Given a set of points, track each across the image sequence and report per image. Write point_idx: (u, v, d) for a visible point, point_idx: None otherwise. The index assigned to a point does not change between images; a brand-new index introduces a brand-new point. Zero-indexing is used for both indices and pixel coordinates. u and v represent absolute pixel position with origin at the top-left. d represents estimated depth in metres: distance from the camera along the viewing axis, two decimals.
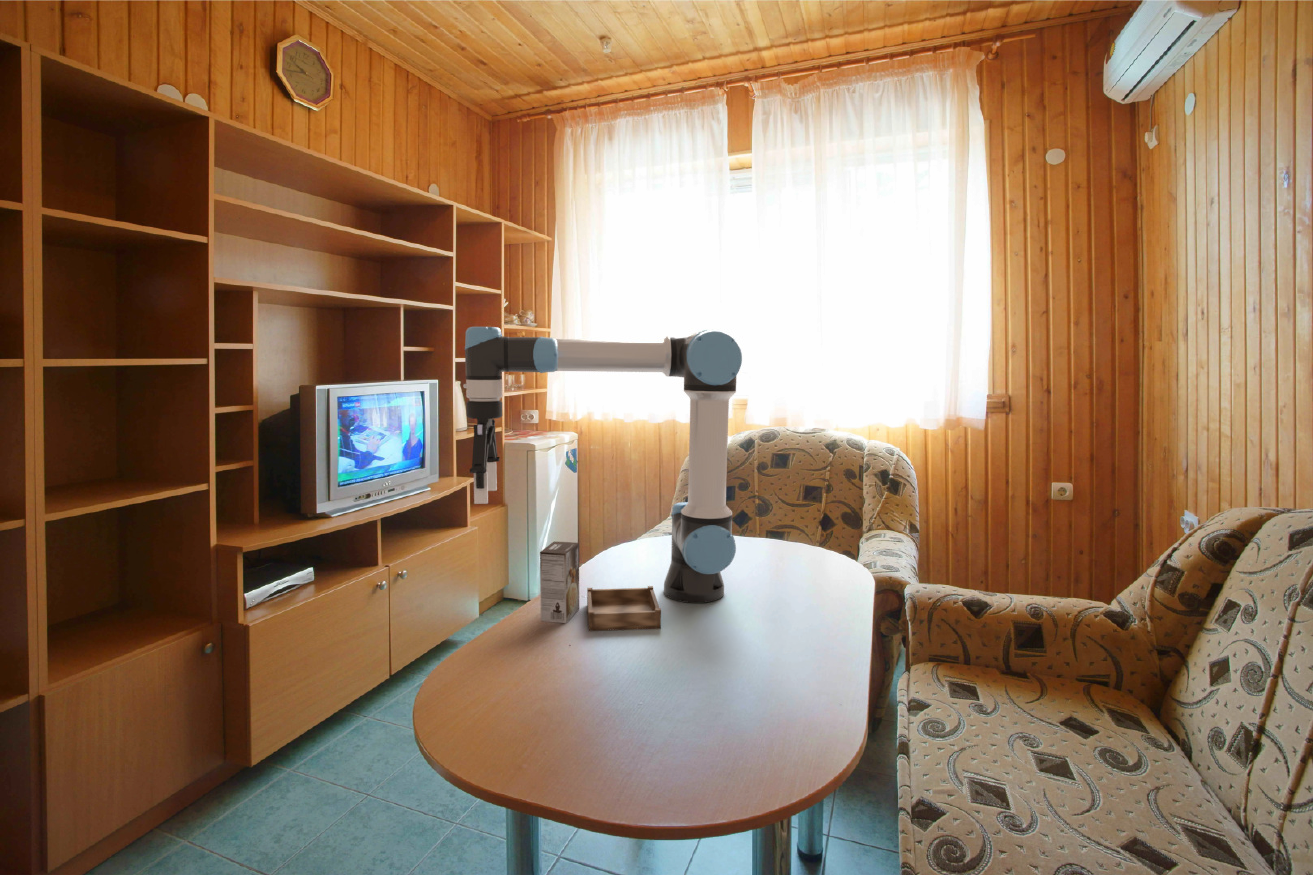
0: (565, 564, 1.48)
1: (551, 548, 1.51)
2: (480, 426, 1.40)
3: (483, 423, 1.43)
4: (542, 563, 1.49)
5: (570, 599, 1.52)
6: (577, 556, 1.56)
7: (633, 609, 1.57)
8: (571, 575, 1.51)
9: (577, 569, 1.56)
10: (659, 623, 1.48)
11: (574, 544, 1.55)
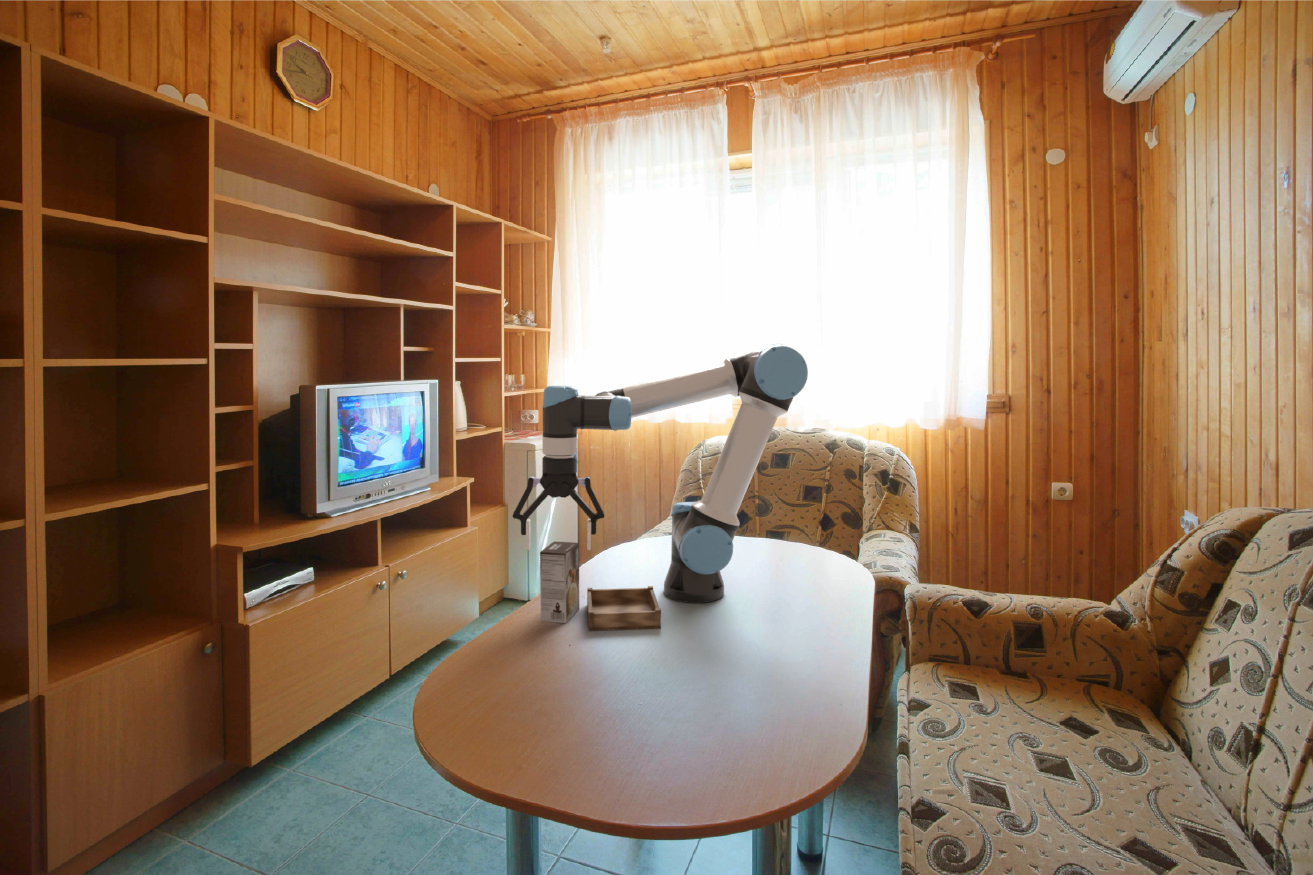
0: (565, 564, 1.48)
1: (551, 548, 1.51)
2: (528, 478, 1.50)
3: None
4: (542, 563, 1.49)
5: (570, 599, 1.52)
6: (577, 556, 1.56)
7: (633, 609, 1.57)
8: (571, 575, 1.51)
9: (577, 569, 1.56)
10: (659, 623, 1.48)
11: (574, 544, 1.55)
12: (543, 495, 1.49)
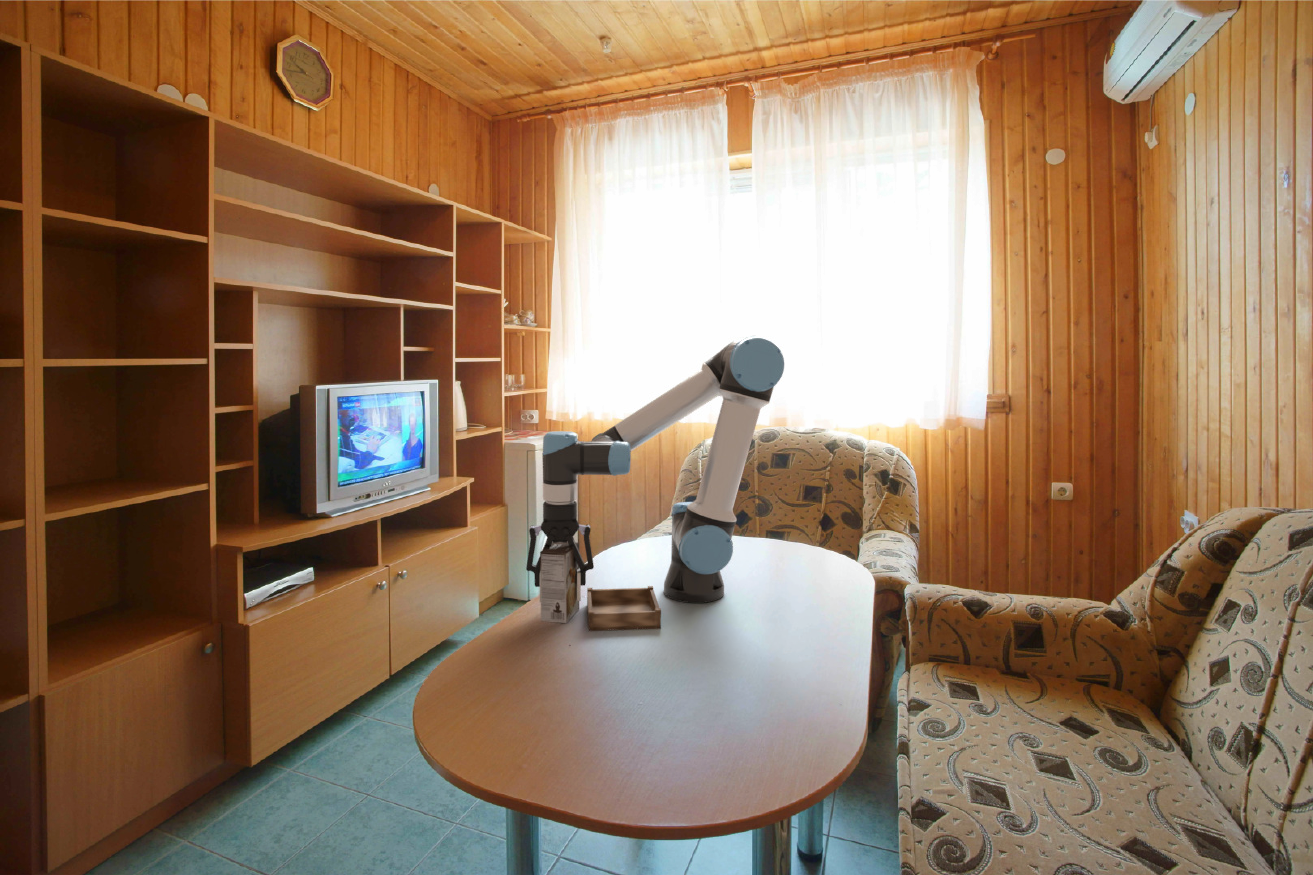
0: (565, 564, 1.48)
1: (551, 548, 1.51)
2: None
3: None
4: (542, 563, 1.49)
5: (570, 598, 1.52)
6: None
7: (633, 609, 1.57)
8: (571, 575, 1.51)
9: (577, 569, 1.56)
10: (659, 623, 1.48)
11: None
12: (548, 543, 1.51)
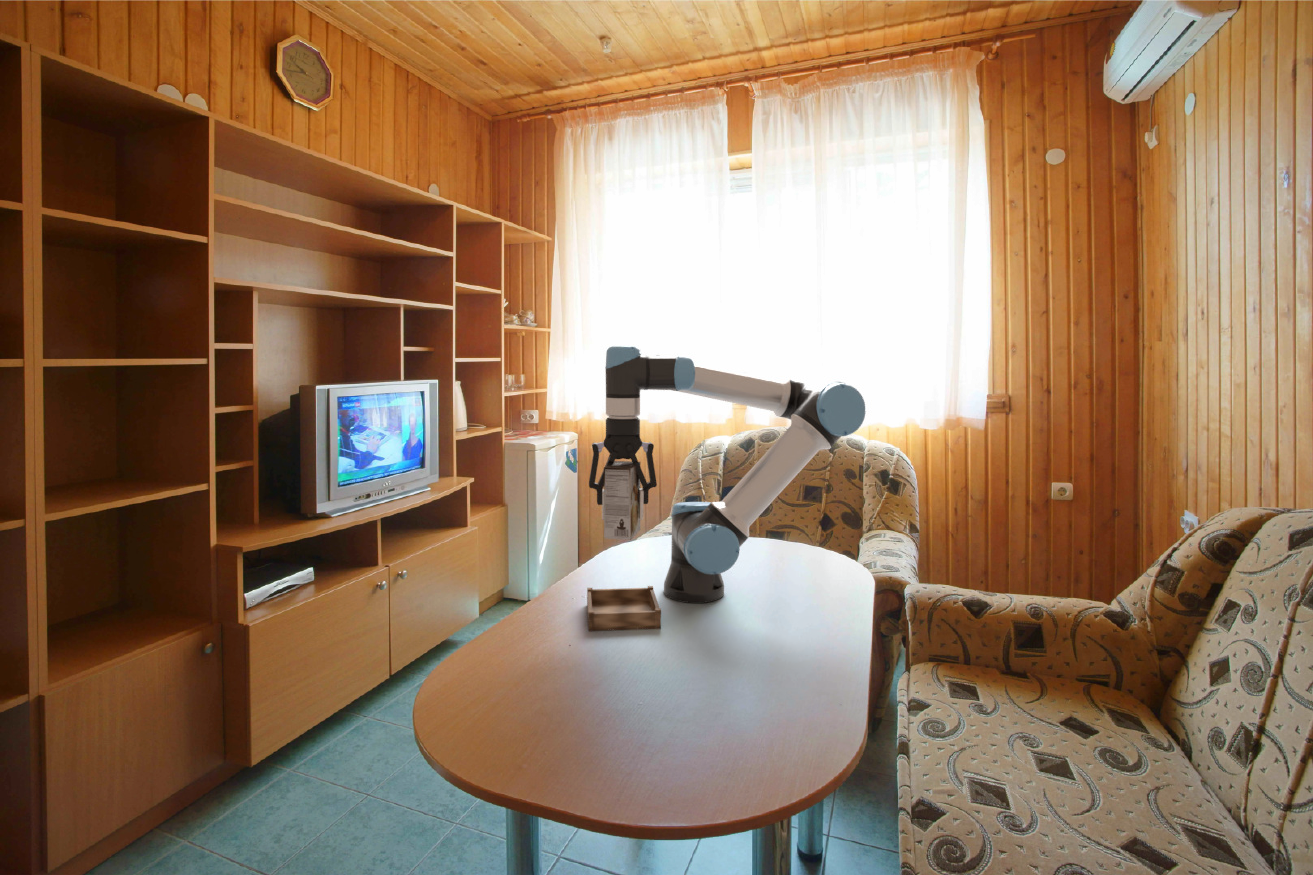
0: (630, 479, 1.46)
1: (614, 465, 1.49)
2: (592, 445, 1.49)
3: None
4: (606, 479, 1.47)
5: (634, 516, 1.49)
6: None
7: (633, 609, 1.57)
8: (634, 492, 1.49)
9: (639, 488, 1.53)
10: (659, 623, 1.48)
11: None
12: (611, 459, 1.48)
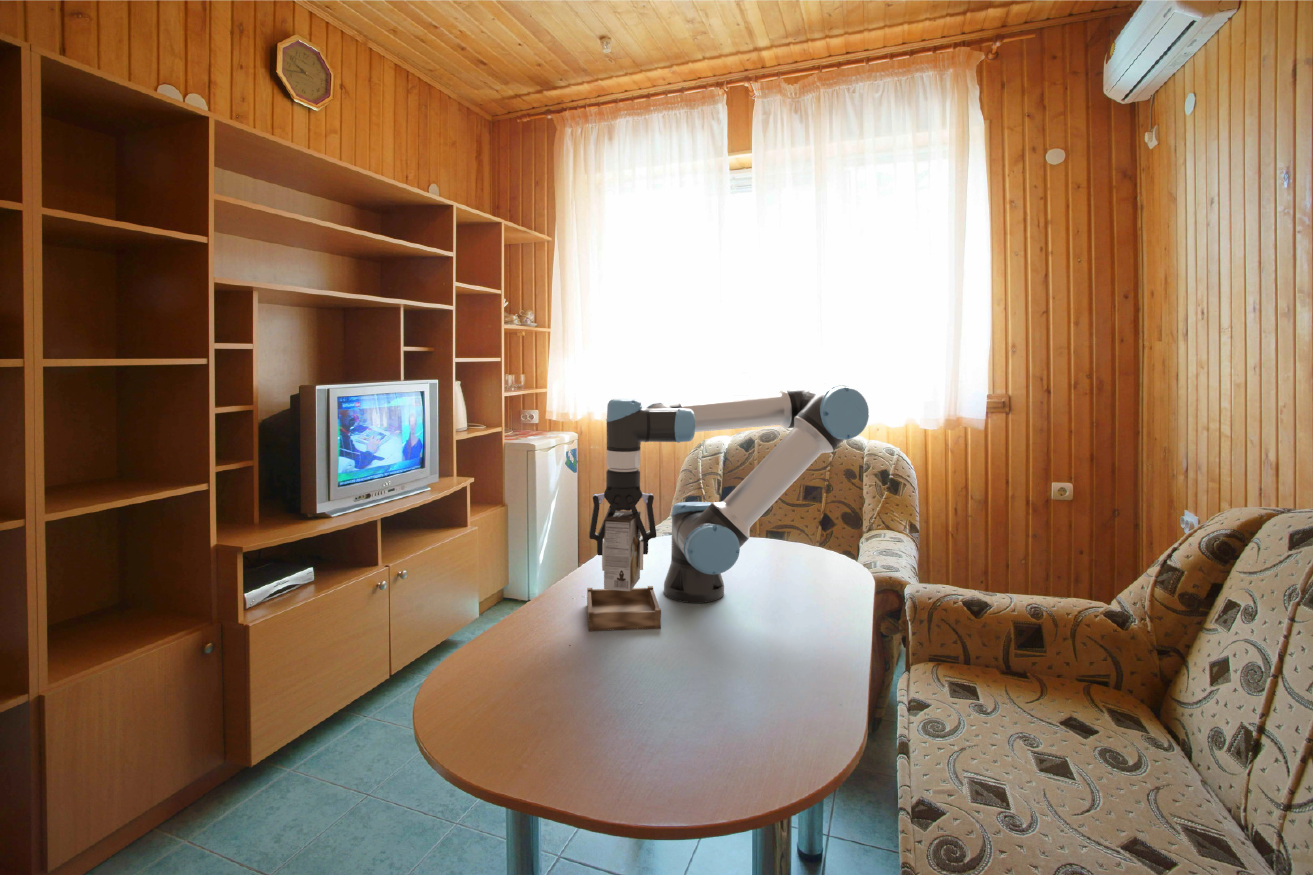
0: (630, 531, 1.47)
1: (615, 516, 1.50)
2: (592, 496, 1.50)
3: None
4: (606, 531, 1.48)
5: (633, 567, 1.51)
6: None
7: (633, 609, 1.57)
8: (634, 543, 1.50)
9: (639, 538, 1.55)
10: (659, 623, 1.48)
11: None
12: (611, 511, 1.50)
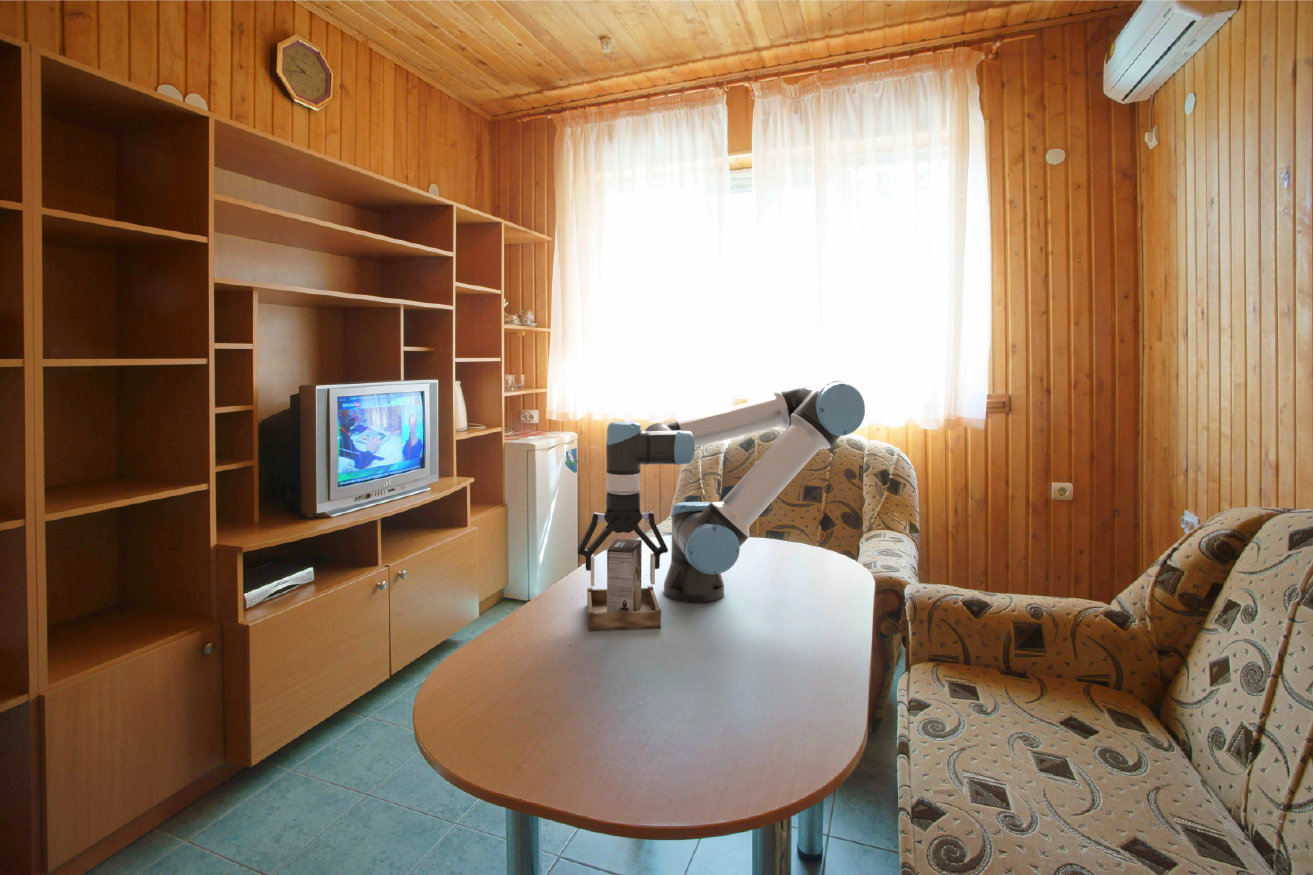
0: (633, 561, 1.48)
1: (617, 546, 1.51)
2: (592, 514, 1.51)
3: None
4: (609, 561, 1.49)
5: (636, 596, 1.52)
6: (640, 553, 1.55)
7: None
8: (637, 572, 1.51)
9: (640, 566, 1.56)
10: (659, 623, 1.48)
11: (638, 541, 1.55)
12: (608, 531, 1.50)
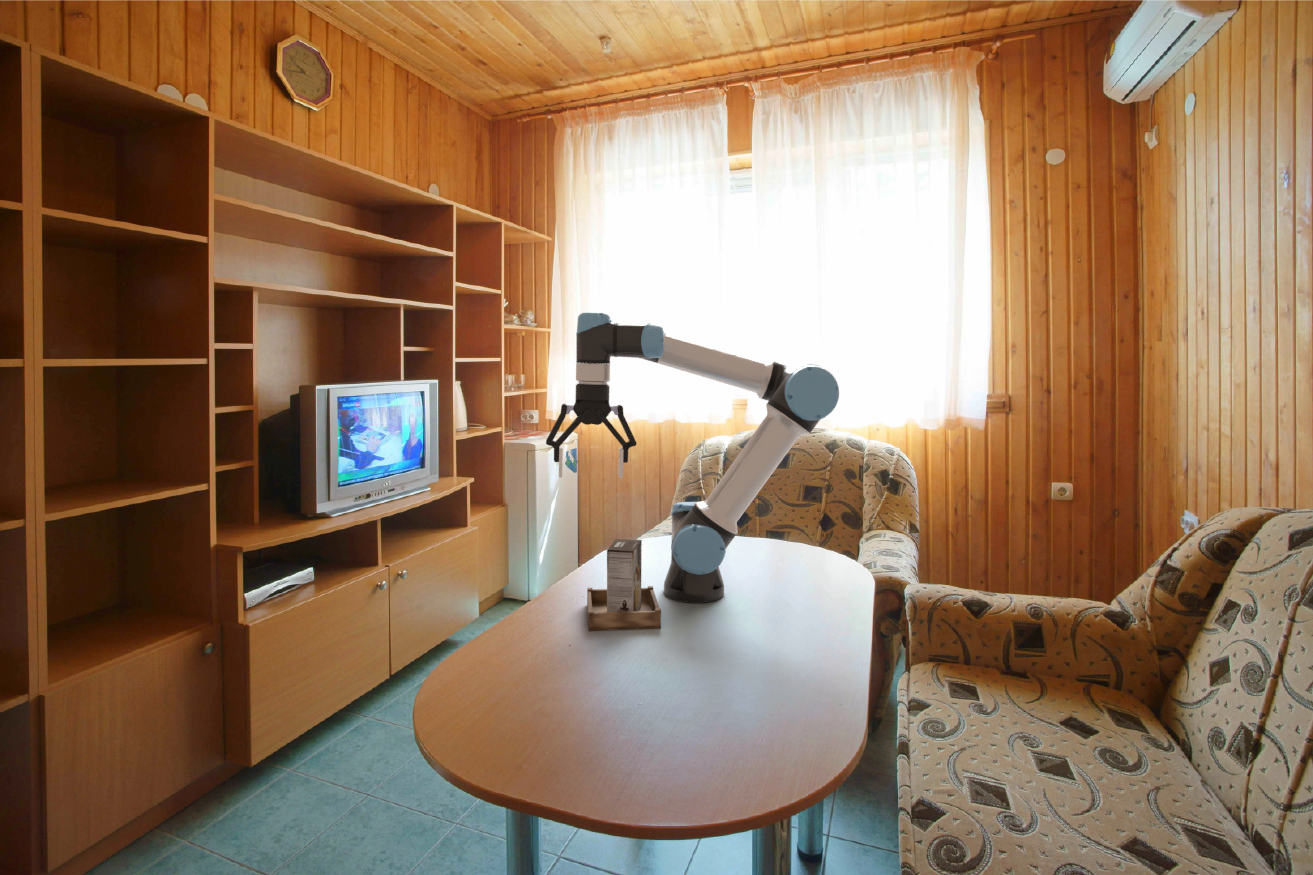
0: (633, 561, 1.48)
1: (617, 546, 1.51)
2: None
3: None
4: (609, 561, 1.49)
5: (636, 596, 1.52)
6: (640, 553, 1.55)
7: None
8: (637, 572, 1.51)
9: (640, 566, 1.56)
10: (659, 623, 1.48)
11: (637, 541, 1.55)
12: (576, 422, 1.50)
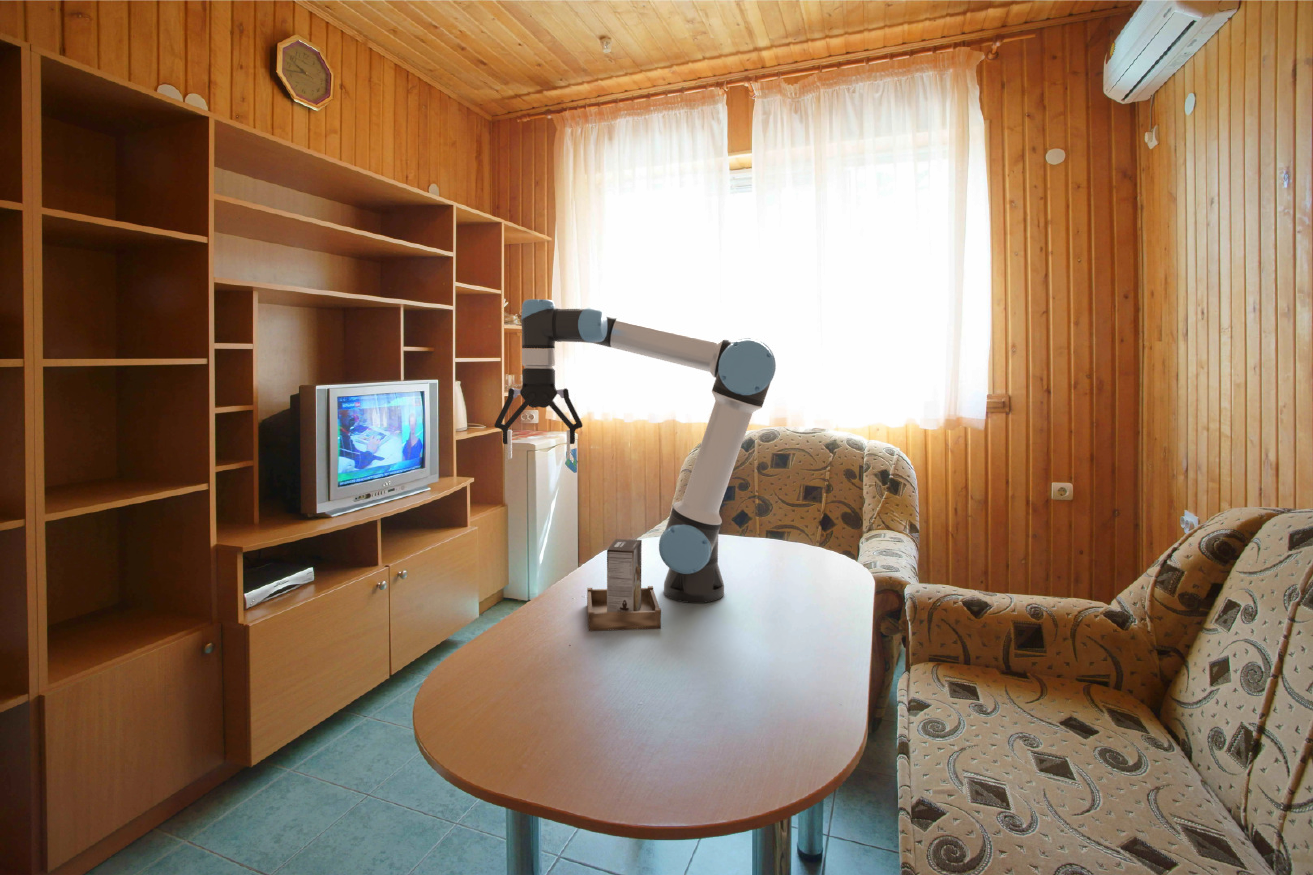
0: (633, 561, 1.48)
1: (617, 546, 1.51)
2: None
3: None
4: (609, 561, 1.49)
5: (636, 596, 1.52)
6: (640, 553, 1.55)
7: None
8: (637, 572, 1.51)
9: (640, 566, 1.56)
10: (659, 623, 1.48)
11: (637, 541, 1.55)
12: (523, 405, 1.56)
